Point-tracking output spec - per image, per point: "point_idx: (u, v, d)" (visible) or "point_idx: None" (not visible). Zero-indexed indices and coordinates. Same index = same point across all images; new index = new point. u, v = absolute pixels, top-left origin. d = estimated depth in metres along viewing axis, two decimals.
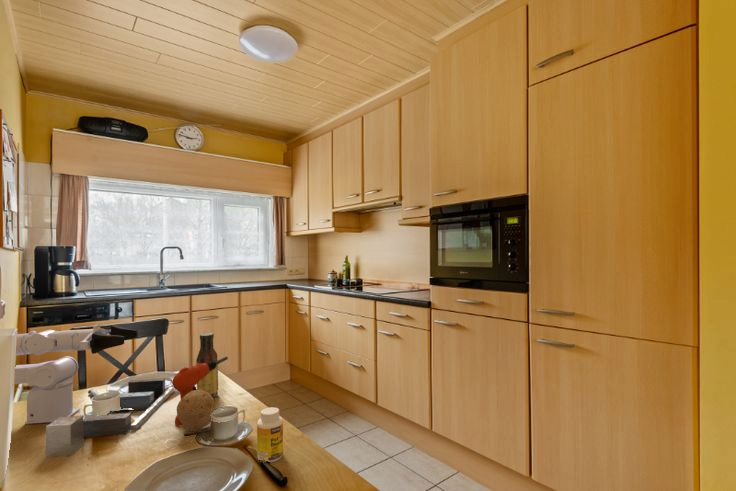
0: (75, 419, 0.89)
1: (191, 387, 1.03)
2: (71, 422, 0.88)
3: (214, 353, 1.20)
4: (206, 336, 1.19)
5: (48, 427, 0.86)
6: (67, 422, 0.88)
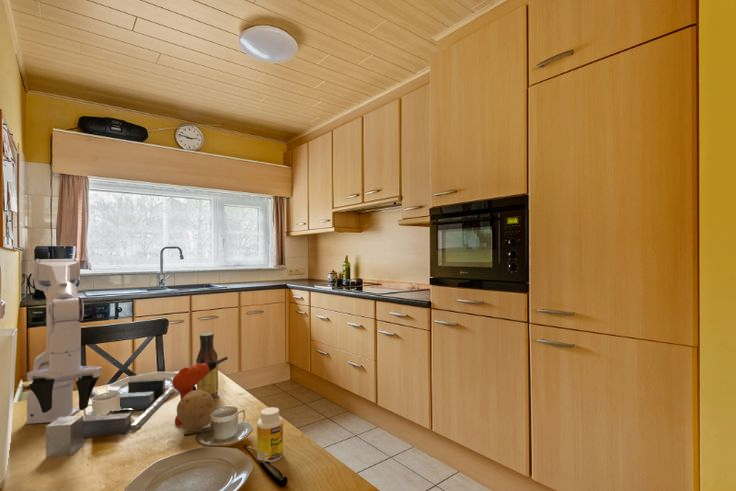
0: (75, 419, 0.89)
1: (191, 387, 1.03)
2: (71, 422, 0.88)
3: (214, 353, 1.20)
4: (206, 336, 1.19)
5: (48, 427, 0.86)
6: (67, 422, 0.88)
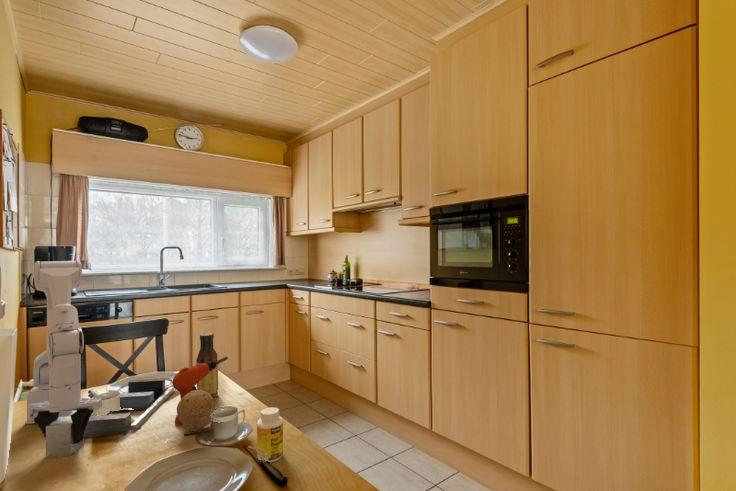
0: None
1: (191, 387, 1.03)
2: (71, 422, 0.88)
3: (214, 353, 1.20)
4: (206, 336, 1.19)
5: (48, 427, 0.86)
6: (67, 422, 0.88)
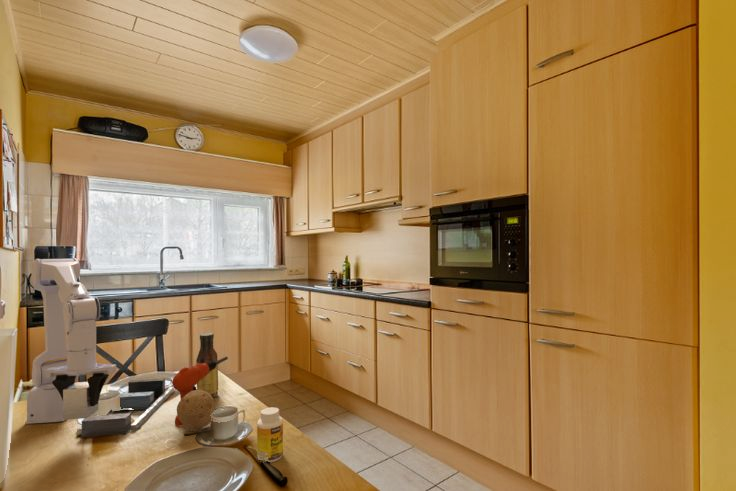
0: None
1: (191, 387, 1.03)
2: (87, 386, 0.92)
3: (214, 353, 1.20)
4: (206, 336, 1.19)
5: (65, 390, 0.90)
6: (83, 386, 0.91)
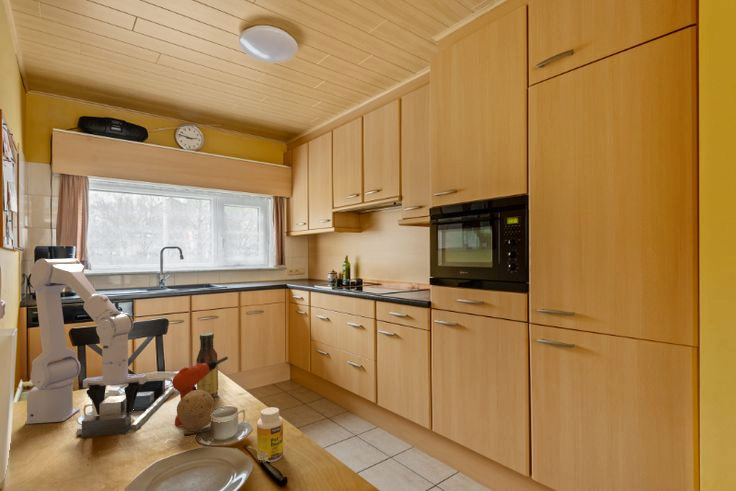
0: (123, 398, 1.02)
1: (191, 387, 1.03)
2: (121, 400, 1.00)
3: (214, 353, 1.20)
4: (206, 336, 1.19)
5: (101, 404, 0.99)
6: (117, 400, 1.00)
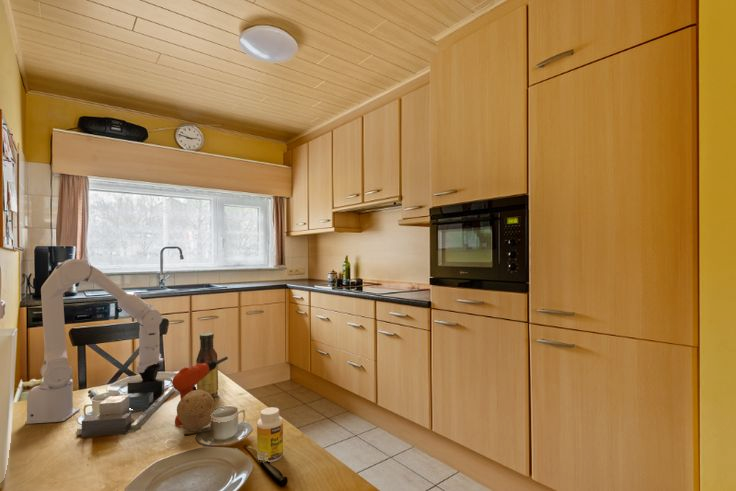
0: (123, 398, 1.02)
1: (191, 387, 1.03)
2: (121, 400, 1.00)
3: (214, 353, 1.20)
4: (206, 336, 1.19)
5: (101, 404, 0.99)
6: (117, 400, 1.00)
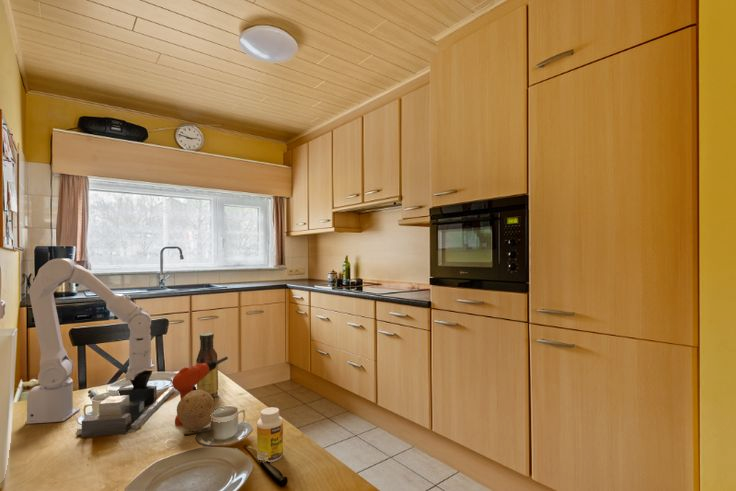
0: (123, 398, 1.02)
1: (191, 387, 1.03)
2: (120, 400, 1.00)
3: (214, 353, 1.20)
4: (206, 336, 1.19)
5: (101, 404, 0.99)
6: (117, 400, 1.00)
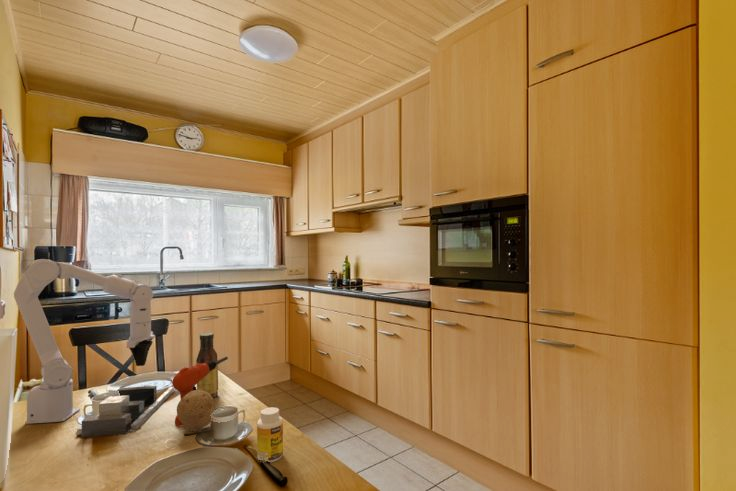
0: (123, 398, 1.02)
1: (191, 387, 1.03)
2: (120, 400, 1.00)
3: (214, 353, 1.20)
4: (206, 336, 1.19)
5: (101, 404, 0.99)
6: (117, 400, 1.00)
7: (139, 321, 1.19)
